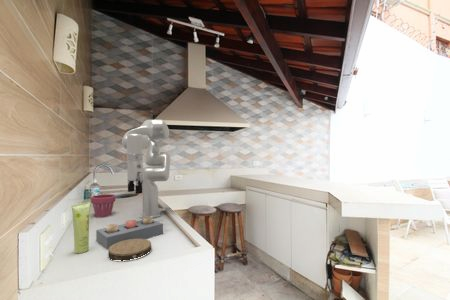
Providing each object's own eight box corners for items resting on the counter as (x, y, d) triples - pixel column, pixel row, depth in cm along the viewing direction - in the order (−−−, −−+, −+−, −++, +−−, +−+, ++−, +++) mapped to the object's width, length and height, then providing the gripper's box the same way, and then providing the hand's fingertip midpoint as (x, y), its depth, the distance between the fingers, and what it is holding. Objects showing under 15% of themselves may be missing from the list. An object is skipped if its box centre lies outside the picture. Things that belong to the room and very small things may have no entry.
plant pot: (119, 214, 154) (119, 195, 155) (98, 219, 142) (98, 198, 143) (107, 211, 162) (107, 193, 162) (86, 216, 150) (86, 196, 150)
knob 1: (115, 232, 108) (115, 223, 108) (119, 235, 105) (119, 225, 105) (105, 235, 105) (105, 225, 105) (108, 237, 101) (108, 227, 102)
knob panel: (149, 227, 125) (149, 218, 125) (163, 233, 115) (163, 223, 115) (96, 241, 106) (96, 230, 106) (107, 249, 96) (107, 237, 97)
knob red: (133, 228, 114) (133, 219, 114) (137, 230, 111) (137, 221, 111) (124, 230, 111) (124, 221, 111) (128, 232, 108) (128, 223, 108)
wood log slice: (104, 252, 95) (104, 244, 95) (143, 242, 104) (143, 236, 104) (113, 266, 82) (113, 258, 82) (157, 254, 92) (157, 246, 92)
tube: (85, 253, 93) (85, 204, 93) (71, 254, 92) (71, 205, 92) (90, 248, 98) (90, 201, 99) (77, 249, 97) (77, 202, 97)
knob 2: (149, 224, 120) (149, 216, 120) (153, 226, 117) (153, 217, 117) (141, 226, 117) (141, 217, 117) (145, 228, 114) (145, 219, 114)
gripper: (149, 158, 114) (149, 193, 113) (135, 158, 126) (135, 190, 126) (134, 158, 108) (134, 195, 108) (121, 158, 121) (121, 191, 121)
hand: (134, 192), depth 117 cm, fingers open, 9 cm apart
